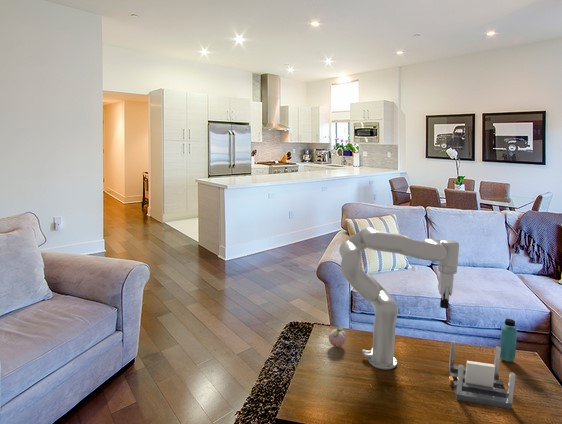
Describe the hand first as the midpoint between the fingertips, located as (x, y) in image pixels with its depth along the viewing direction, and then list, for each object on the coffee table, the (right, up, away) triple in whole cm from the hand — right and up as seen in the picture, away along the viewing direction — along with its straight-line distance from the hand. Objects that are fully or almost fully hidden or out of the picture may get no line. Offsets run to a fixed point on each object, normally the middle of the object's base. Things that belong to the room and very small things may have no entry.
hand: (444, 307), depth 166 cm
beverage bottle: (+31, -26, +6) cm, 42 cm away
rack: (+8, -29, -14) cm, 33 cm away
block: (+8, -29, -14) cm, 33 cm away
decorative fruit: (-45, -24, +17) cm, 54 cm away
